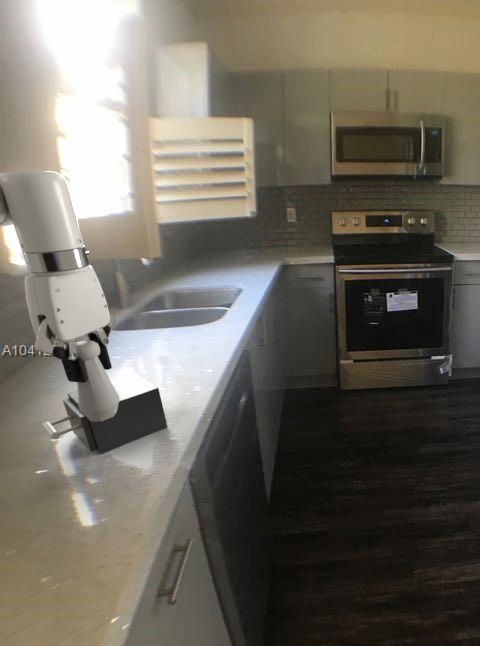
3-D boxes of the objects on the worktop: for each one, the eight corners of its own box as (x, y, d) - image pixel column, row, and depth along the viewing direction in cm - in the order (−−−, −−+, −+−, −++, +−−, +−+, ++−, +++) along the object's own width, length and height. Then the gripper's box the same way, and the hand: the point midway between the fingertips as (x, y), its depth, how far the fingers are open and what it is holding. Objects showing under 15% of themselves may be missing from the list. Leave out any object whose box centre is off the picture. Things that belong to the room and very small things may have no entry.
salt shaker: (108, 404, 80) (89, 334, 75) (130, 411, 78) (111, 339, 73) (75, 420, 75) (51, 346, 71) (96, 427, 73) (74, 352, 68)
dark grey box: (99, 454, 91) (87, 412, 88) (79, 432, 99) (67, 393, 96) (167, 427, 100) (158, 387, 97) (144, 409, 108) (135, 372, 105)
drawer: (62, 463, 87) (50, 428, 84) (46, 442, 94) (34, 409, 91) (155, 426, 99) (147, 394, 96) (134, 410, 106) (126, 379, 103)
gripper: (83, 251, 75) (110, 354, 82) (-21, 273, 60) (23, 396, 67) (122, 252, 74) (146, 356, 81) (25, 274, 59) (66, 401, 65)
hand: (90, 373), depth 74 cm, fingers closed on salt shaker, 4 cm apart
